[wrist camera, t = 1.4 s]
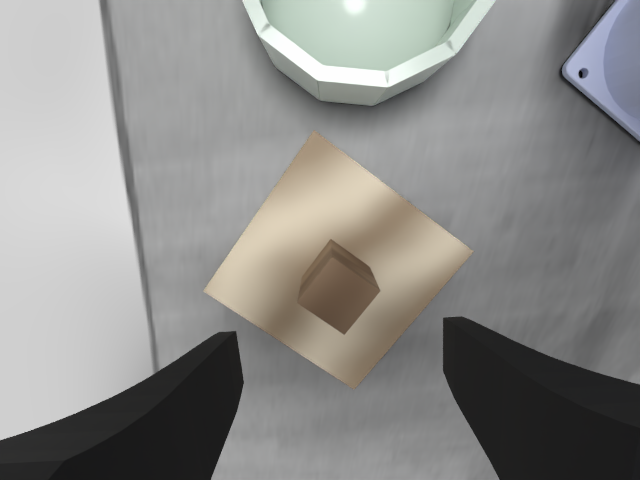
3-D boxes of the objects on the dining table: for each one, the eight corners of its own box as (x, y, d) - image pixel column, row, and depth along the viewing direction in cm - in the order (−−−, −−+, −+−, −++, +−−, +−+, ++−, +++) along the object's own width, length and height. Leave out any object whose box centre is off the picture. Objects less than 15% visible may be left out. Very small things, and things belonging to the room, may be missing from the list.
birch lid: (468, 248, 21) (509, 272, 16) (353, 381, 23) (360, 437, 18) (314, 131, 19) (311, 121, 15) (207, 286, 22) (175, 320, 17)
